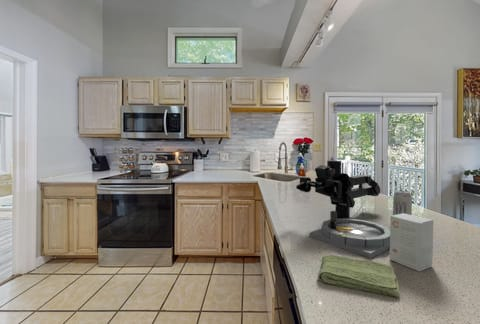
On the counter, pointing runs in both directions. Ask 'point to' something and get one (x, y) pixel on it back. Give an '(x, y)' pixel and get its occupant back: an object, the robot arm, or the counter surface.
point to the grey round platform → (355, 238)
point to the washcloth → (359, 275)
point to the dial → (352, 228)
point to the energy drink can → (402, 203)
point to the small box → (411, 241)
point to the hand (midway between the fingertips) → (305, 188)
